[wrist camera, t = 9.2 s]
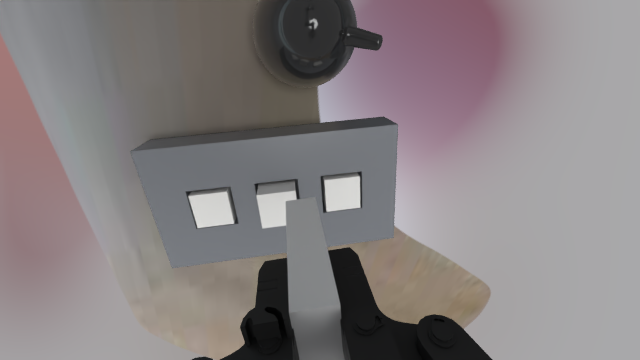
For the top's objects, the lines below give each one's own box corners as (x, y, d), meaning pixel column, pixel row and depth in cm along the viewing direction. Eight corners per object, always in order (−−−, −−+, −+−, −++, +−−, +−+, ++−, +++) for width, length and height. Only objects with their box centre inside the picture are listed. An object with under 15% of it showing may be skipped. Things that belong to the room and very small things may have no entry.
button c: (320, 167, 38) (324, 180, 34) (351, 164, 38) (359, 176, 34) (322, 196, 40) (326, 211, 36) (352, 193, 40) (360, 207, 36)
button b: (259, 180, 35) (256, 195, 31) (293, 176, 36) (295, 190, 32) (264, 210, 37) (262, 228, 33) (297, 206, 37) (299, 223, 33)
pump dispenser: (333, 93, 35) (366, 114, 22) (250, 73, 33) (227, 81, 19) (356, 2, 32) (413, -43, 18) (264, -28, 30) (249, -105, 16)
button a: (198, 181, 36) (188, 196, 32) (232, 177, 37) (226, 191, 33) (206, 211, 38) (197, 228, 34) (239, 207, 39) (234, 223, 35)
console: (150, 139, 35) (130, 151, 30) (383, 116, 37) (397, 124, 33) (184, 246, 41) (172, 270, 37) (381, 221, 44) (393, 239, 39)
